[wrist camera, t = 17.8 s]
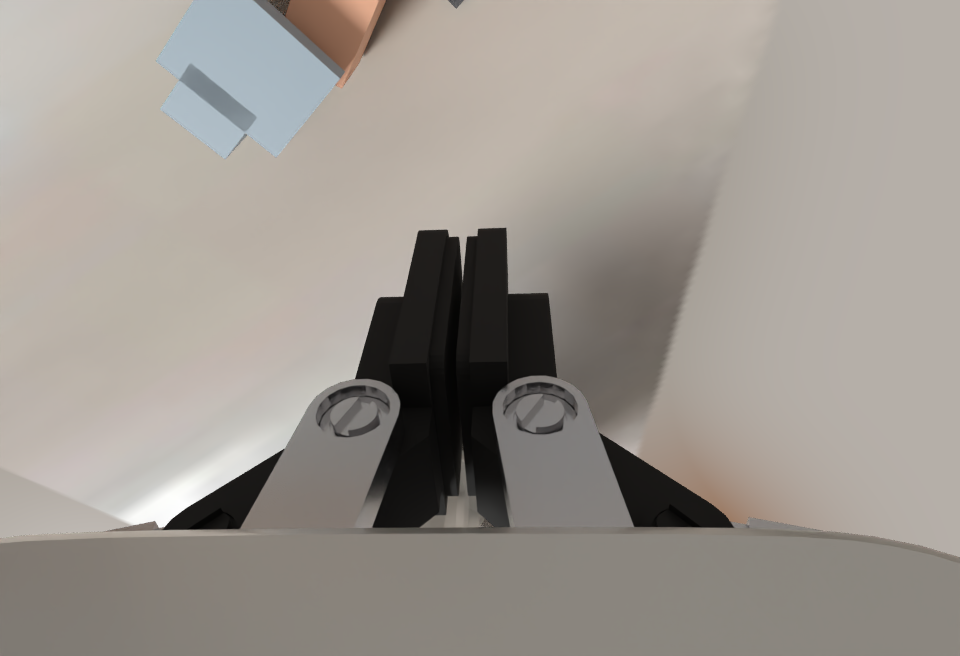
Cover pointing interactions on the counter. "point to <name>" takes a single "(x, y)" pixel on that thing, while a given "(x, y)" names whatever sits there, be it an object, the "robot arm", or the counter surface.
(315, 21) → the link
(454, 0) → the pintle station
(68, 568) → the robot arm
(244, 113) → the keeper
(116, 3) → the counter surface
